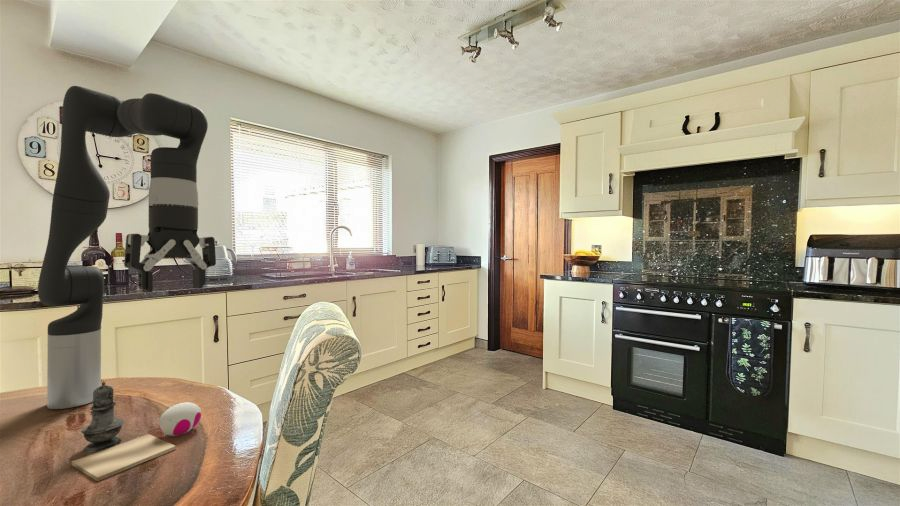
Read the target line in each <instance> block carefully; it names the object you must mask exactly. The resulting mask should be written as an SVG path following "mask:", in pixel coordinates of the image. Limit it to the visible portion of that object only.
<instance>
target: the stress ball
mask: <svg viewBox="0 0 900 506" xmlns="http://www.w3.org/2000/svg"><path fill="white" fill-rule="evenodd" d="M201 418H202V410H201V408H200V405H198V404H196V403H194V402H190V401H189V402H188V401H185V402H180V403H176V404H174V405H172V406H170V407H168V409H166V410H165V411H163V413H162V414H161V416H160V417H159V419H158V425H157V426H158V430H159V431H160V432H161V433H162V434H163V435H164V436H165V435H166V436H169V437H175V436H180V435H183V434H191V435H192V434H193V435H195V433H194V432H190V431H191V430H193V429H194V428H195V427H196V426H197V425H198V424H199V422H200V421H201Z"/></svg>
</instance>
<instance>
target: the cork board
mask: <svg viewBox="0 0 900 506" xmlns="http://www.w3.org/2000/svg"><path fill="white" fill-rule="evenodd" d="M176 449H177V448H176V445H174V444H172V443H170V442H169V441H165V440H164V439H161V438H159V437H156V436H154V435H152V434H150V433H148V434H144V435H142V436H139V437H136V438H132V439H131V440H128V441H125V442H121V443H119V444H118V445H116V446H113V447H111V448H108V449H105V450H102V451H98V452H93V453H91V454H89V455H85V456H84V457H80V458H78V459H75V460H72V461H71V466H73V467H74V468H76V469H77V470H79V471H80V472H81V473H84V474H85V475H87V476H88V477H90V478H91V479H93V480H94V481H96V482H100V481H102V480H104V479H107V478H109V477H112V476H115V475H116V474H118V473H119V474H120V473H122V472H124V471H126V470H129V469H131V468H133V467H136V466H138V465H141V464H143V463H145V462H147V461H148V462H149V461H150V460H153V459H156V458H157V457H160V456H163V455H165V454H168V453H170V452H171V451H174V450H176Z"/></svg>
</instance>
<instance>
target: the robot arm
mask: <svg viewBox="0 0 900 506" xmlns="http://www.w3.org/2000/svg"><path fill="white" fill-rule="evenodd" d="M61 112H62V113H61V133H60V135H61V137H60V150H59V151H60V154H59V160H58V167H57V173H56V179H55V184H54V189H53V195H52V202H51V212H50V223H49V233H48V239H47V244H46V249H45V253H44V257H43V261H42V265H41V269H40V272H39V273H40V274H39V277H38V284H37V295H38V296H37V297H38V299H39V301H40V303H42V305H44V306H47V307H48V306H49V307H50V306H51V307H52V306H53V307H54V306H55V307H56V306H67V305H69V306H70V305H77V304H79V307H78V308H77V309H76V310H74V311H73V312H71V313H70V314H68V315H64V316H63V317H60V318H57V319H55V320H52V321H51V322H49V323H48V325H47V360H46V361H47V365H46V366H47V372H46V373H47V374H46V375H47V376H46V383H47V384H46V388H47V389H46V406H47V407H46V408H47V409H49V410H62V409H71V408H75V407H79V406H84V405H87V404H89V403H93V392H94V390H95V389H97V388H98V387H100V386H102V382H101V381H102V370H101V369H102V319H103V312H104V311H103V310H104V307H103V305H104V293H105V277H104V273H103V271H102V270H101V268H99V267H98V266H95V265H94V266H91V265H90V266H88V265H87V266H86V265H85V266H84V265H83V266H80V265H79V266H77V265H76V266H68V263H69V261H70V259H71V257H72V255H73V253H74V252H75V251H76V249H77V248H78V247H79V246H80V245H81V244H82V243H83V242H84V241H85V240H86V239H88V238H89V237H90V236H91V235H92V234H94V232H95V231H97V230H98V229H99V227H100V226H101V225H102V224H103V223H104V222H105V220H106V218H107V215H108V209H109V203H110V202H109V201H110V195H111V193H110V190H109V187H108V185H107V183H106V181H105V179H104V178H103V176H102V175H101V173H100V172H99V170H98V168H97V167H96V164H94V162H93V161H92V158H91V156H90V154H89V152H88V147H87V142H86V134H87V132H88V133H92V134H96V135H97V134H98V135H102V136H106V137H110V138H111V137H112V138H125V137H128V136H129V137H130V136H132V135H137V134H140V135H144V136H154V137H155V136H156V137H157V136H165V137H170V138H174V139H176V140H179V143H178V146H177V147H171V146H170V147H167V146H166V147H165V146H163V147H157V148H156V147H155V148H154V149H152V151H151V153H150V183H149V189H148V233H147V234H140V233H129V234H127V235H126V237H125V249H124V259H123V260H124V261H123V265H124V267H125V268H127V269H131V270H135V271H137V274H138V276H137V287H138V289H139V290H141V292H142V293H145V294H146V293H148V294H149V293H153V289H154V288H153V287H154V286H153V285H154V284H153V283H154V279H153V278H154V275H153V274H154V273H153V272H154V271H151V270H152V269H153V268H154V266H156V264H157V263H159V262H161V260H162V259H174V258H175V259H184V260H185V261H186V262H188V263H190V265H191V266H192V268H194V269H193V270H192V288H193V289H195V290H196V289H197V290H198V289H203V288H204V287H203V286H206V285H205V284H206V270H207V268H208V269H209V268H210V267H214V266H216V263H217V258H216V244H215V243H216V242H215V238H214V237H213V236H203V237H199V236H198V229H199V191H198V186H197V177H198V175H197V171H198V170H197V163H198V159H199V155H200V153H201V149H202V146H203V144H204V140H205V138H206V135H207V131H208V127H209V125H208V119H207V116H206V115H205V113H204V111H203V110H202V109H201V108H199V107H198V106H195V105H193V104H190V103H187V102H184V101H180V100H178V99H175V98H171V97H169V96H165V95H163V94H159V93H151V92H150V93H146V94H144V96H142V97H141V98H139V97H137V98H129V99H126V100H123V99H121V98H118V97H116V96H114V95H113V96H112V95H110V94H107V93H103V92H100V91H97V90H93V89H89V88H86V87H83V86H81V85H80V86H79V85H71V86H70V87H69V88H68V89H67V90H66V92H65V94H64V97H63V103H62V111H61ZM145 243H147V244H148V246H149V247H150V248H151V249H150V250H149V251H148V252H147V253H146V254H145V255H144V257H143V259H142V260H141V248H142V247H143V246H144V245H145ZM198 245H199V247H200V248H201V252H202V256H201V255H200V253H199V251H197V249H196V248H197V246H198Z"/></svg>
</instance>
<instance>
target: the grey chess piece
mask: <svg viewBox="0 0 900 506" xmlns="http://www.w3.org/2000/svg"><path fill="white" fill-rule="evenodd" d="M116 405H117V403H116V402H115V401H114V387H113V386H111V385H107V383H106V382H105V381H102V382H101V386H100V387H98V388H97V389H95V390H94V392H93V402H92V406H91V407H90V408H89V410H91V412H92V416H91V417H92V419H91V422H90V424H89V425H87V426H85V427H83V428H82V429H81V431H80V432H81V434H83V438H84V439H85V440H86V441H87V442H89V444H87V445H85V446H84V448H83V452H84V453H97V452H99V451H102V450H105V449H108V448H111V447H113V446H116V445H119V444H122V441H123V440H122V438H121V437H117V435H118V434H119V433H120V432H121V429H122V425H124V423H125V421H124V420H123V419H121V418H116V416H115V406H116Z"/></svg>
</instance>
